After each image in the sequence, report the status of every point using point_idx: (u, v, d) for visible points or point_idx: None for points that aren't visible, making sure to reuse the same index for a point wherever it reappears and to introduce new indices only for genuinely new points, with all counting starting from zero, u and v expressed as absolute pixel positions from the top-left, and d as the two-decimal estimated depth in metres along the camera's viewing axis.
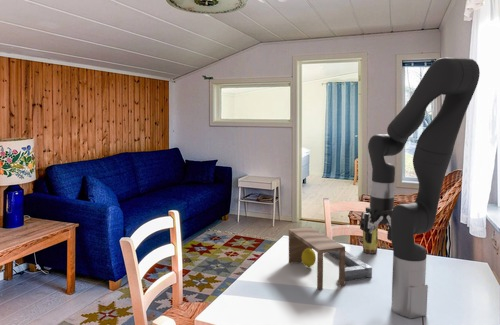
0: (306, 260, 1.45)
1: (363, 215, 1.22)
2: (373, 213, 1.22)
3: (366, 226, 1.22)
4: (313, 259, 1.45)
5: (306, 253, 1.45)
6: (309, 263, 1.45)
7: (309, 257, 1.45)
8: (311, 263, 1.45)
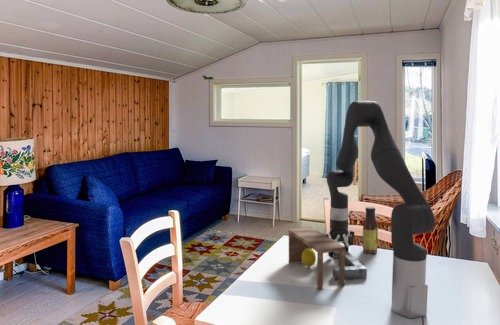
0: (306, 260, 1.45)
1: None
2: (331, 233, 1.54)
3: None
4: (313, 259, 1.45)
5: (306, 253, 1.45)
6: (309, 263, 1.45)
7: (309, 257, 1.45)
8: (311, 263, 1.45)
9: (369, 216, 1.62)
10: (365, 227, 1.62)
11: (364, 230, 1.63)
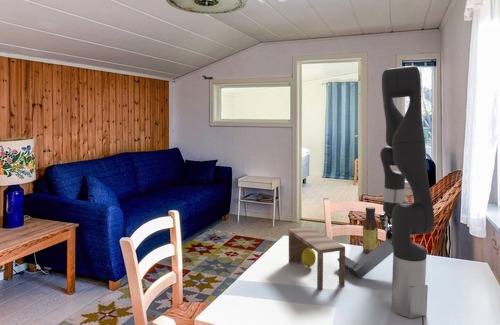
0: (306, 260, 1.45)
1: None
2: (384, 213, 1.44)
3: (382, 225, 1.45)
4: (313, 259, 1.45)
5: (306, 253, 1.46)
6: (309, 263, 1.45)
7: (309, 257, 1.45)
8: (311, 263, 1.45)
9: (369, 216, 1.62)
10: (365, 227, 1.62)
11: (364, 230, 1.63)
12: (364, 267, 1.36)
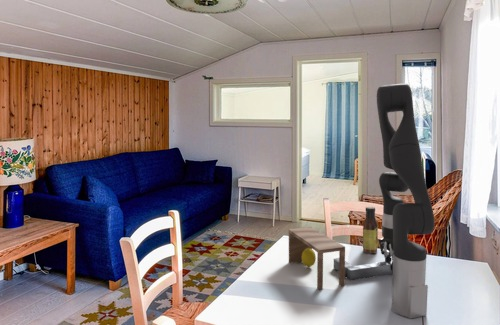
0: (306, 260, 1.45)
1: None
2: (383, 238, 1.44)
3: (381, 249, 1.45)
4: (313, 259, 1.45)
5: (306, 253, 1.46)
6: (309, 263, 1.45)
7: (309, 257, 1.45)
8: (311, 263, 1.45)
9: (369, 216, 1.62)
10: (365, 227, 1.62)
11: (364, 230, 1.63)
12: (359, 272, 1.36)
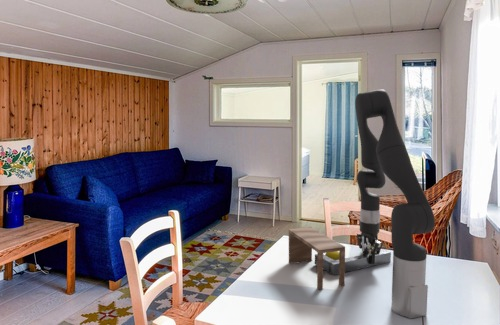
0: (336, 253, 1.49)
1: None
2: None
3: (359, 244, 1.53)
4: None
5: None
6: (334, 256, 1.48)
7: None
8: (334, 258, 1.48)
9: None
10: None
11: None
12: None
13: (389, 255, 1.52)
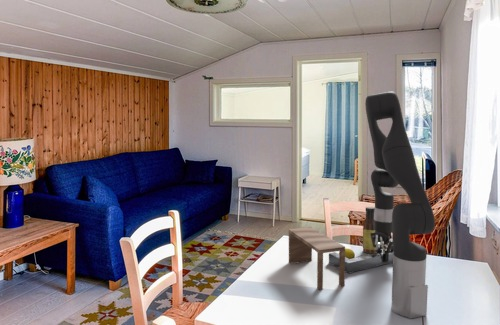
0: (350, 251, 1.51)
1: None
2: (375, 231, 1.53)
3: (373, 242, 1.54)
4: (351, 258, 1.51)
5: None
6: (348, 254, 1.50)
7: (353, 254, 1.51)
8: (348, 256, 1.50)
9: (369, 216, 1.62)
10: (365, 227, 1.62)
11: (364, 230, 1.63)
12: (355, 264, 1.43)
13: None
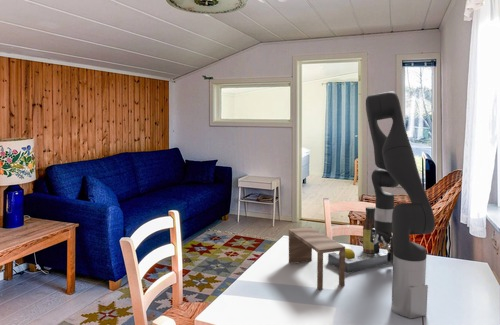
0: (349, 252, 1.51)
1: None
2: (376, 230, 1.53)
3: (371, 238, 1.56)
4: (351, 258, 1.51)
5: None
6: (348, 255, 1.50)
7: (352, 254, 1.51)
8: (348, 257, 1.50)
9: (369, 216, 1.62)
10: (365, 227, 1.62)
11: (364, 230, 1.63)
12: (355, 264, 1.43)
13: None
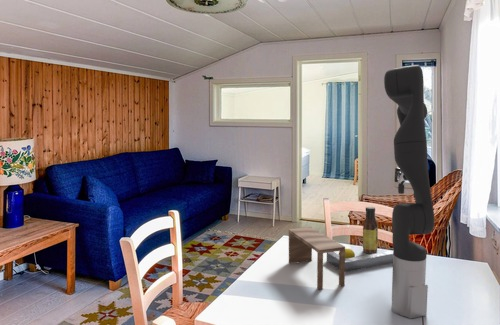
0: (349, 252, 1.51)
1: None
2: None
3: (395, 177, 1.52)
4: None
5: None
6: (348, 255, 1.50)
7: (352, 254, 1.51)
8: (348, 257, 1.50)
9: (369, 216, 1.62)
10: (365, 227, 1.62)
11: (364, 230, 1.63)
12: (351, 264, 1.44)
13: None
